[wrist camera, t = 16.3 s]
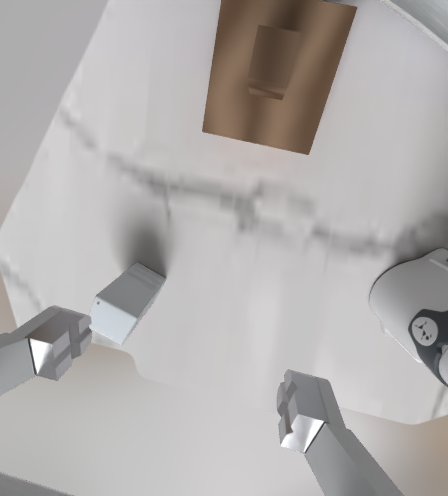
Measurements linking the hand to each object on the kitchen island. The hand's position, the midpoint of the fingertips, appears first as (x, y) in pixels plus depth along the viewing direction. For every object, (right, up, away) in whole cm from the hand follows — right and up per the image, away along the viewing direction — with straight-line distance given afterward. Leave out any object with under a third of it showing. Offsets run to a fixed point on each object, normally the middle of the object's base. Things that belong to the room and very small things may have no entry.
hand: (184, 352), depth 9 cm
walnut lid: (+7, +24, +17) cm, 30 cm away
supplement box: (-15, -3, +37) cm, 40 cm away
